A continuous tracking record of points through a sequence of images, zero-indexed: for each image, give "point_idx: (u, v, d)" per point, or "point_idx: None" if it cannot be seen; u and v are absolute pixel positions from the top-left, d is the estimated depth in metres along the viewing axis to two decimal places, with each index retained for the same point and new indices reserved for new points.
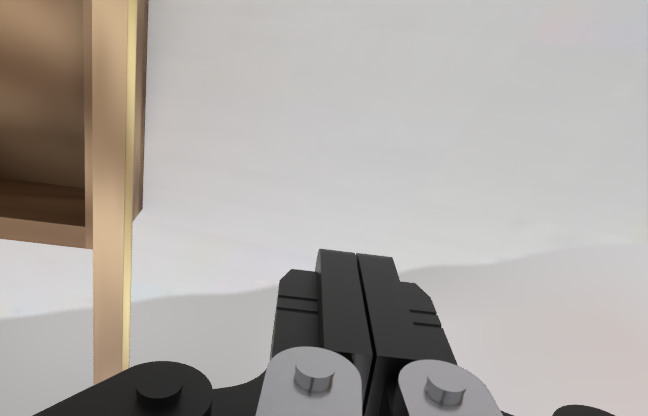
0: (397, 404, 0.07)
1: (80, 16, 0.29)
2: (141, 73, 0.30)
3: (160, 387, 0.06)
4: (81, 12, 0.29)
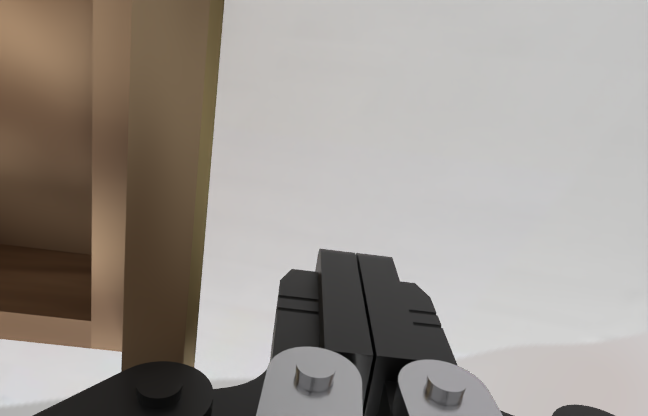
0: (397, 404, 0.07)
1: (86, 36, 0.22)
2: None
3: (161, 386, 0.06)
4: (86, 30, 0.22)
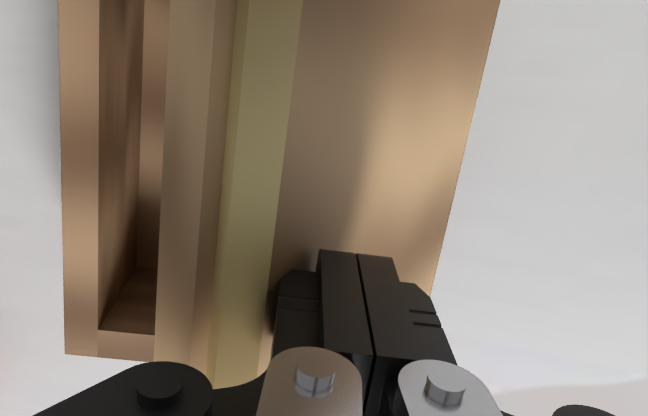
0: (397, 404, 0.07)
1: None
2: None
3: (160, 386, 0.06)
4: None
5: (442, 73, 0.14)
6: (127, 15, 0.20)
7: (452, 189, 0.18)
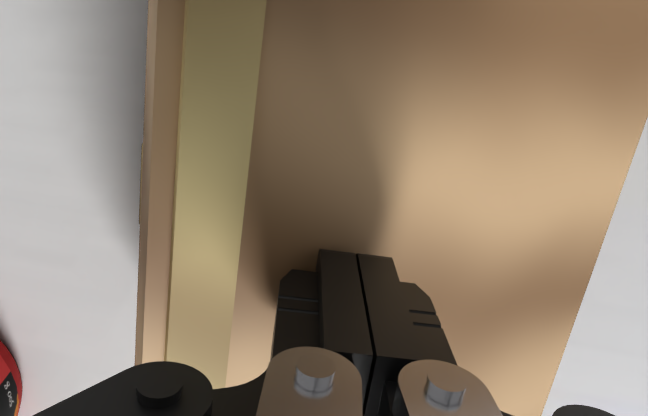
0: (397, 404, 0.07)
1: None
2: None
3: (160, 387, 0.06)
4: None
5: (548, 99, 0.12)
6: None
7: (593, 246, 0.15)
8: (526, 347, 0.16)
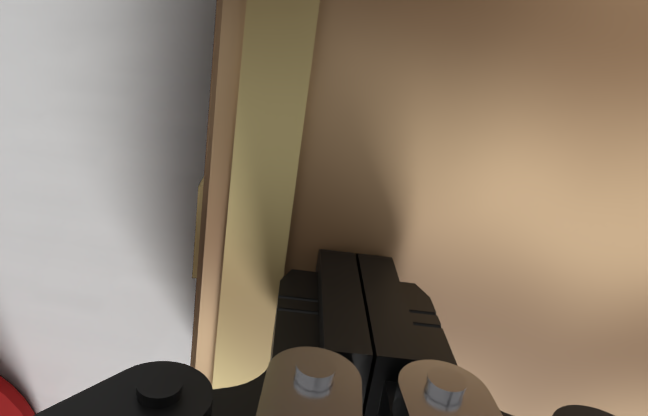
0: (397, 404, 0.07)
1: None
2: None
3: (160, 386, 0.06)
4: None
5: None
6: None
7: None
8: (634, 410, 0.13)
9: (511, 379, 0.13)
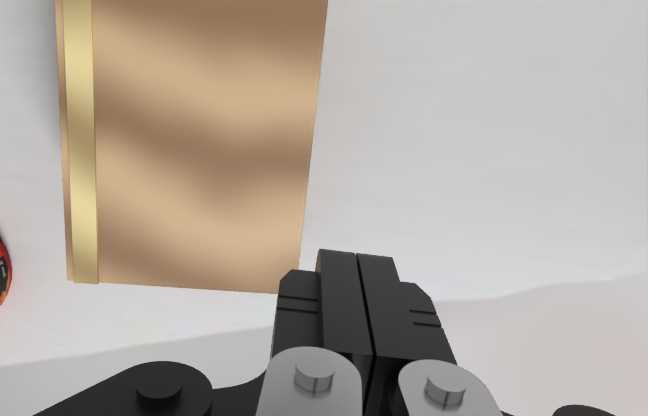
0: (397, 404, 0.07)
1: None
2: None
3: (160, 387, 0.06)
4: None
5: (245, 49, 0.26)
6: None
7: (306, 135, 0.28)
8: (273, 191, 0.28)
9: (209, 174, 0.28)
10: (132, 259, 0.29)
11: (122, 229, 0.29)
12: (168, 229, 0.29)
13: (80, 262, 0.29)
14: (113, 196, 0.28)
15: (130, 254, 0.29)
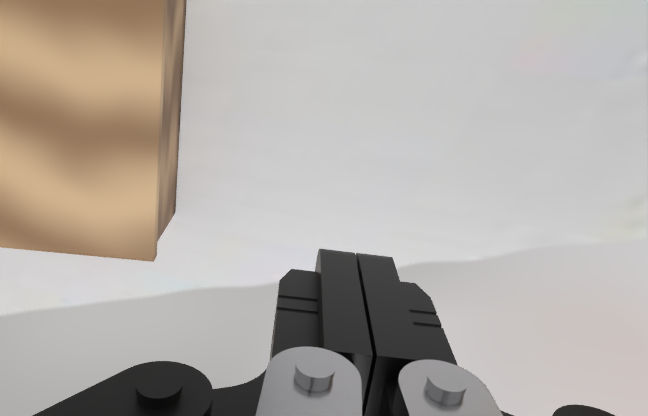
0: (397, 404, 0.07)
1: None
2: (178, 97, 0.36)
3: (160, 386, 0.06)
4: None
5: (90, 30, 0.28)
6: None
7: (153, 112, 0.30)
8: (126, 163, 0.31)
9: (64, 145, 0.30)
10: None
11: None
12: (29, 196, 0.31)
13: None
14: None
15: None
